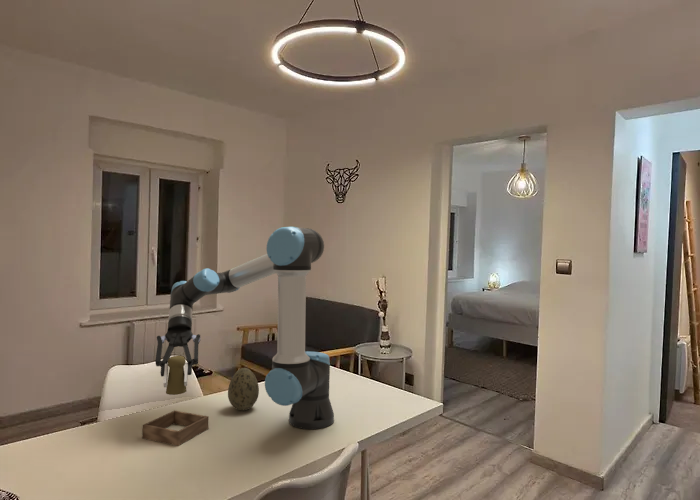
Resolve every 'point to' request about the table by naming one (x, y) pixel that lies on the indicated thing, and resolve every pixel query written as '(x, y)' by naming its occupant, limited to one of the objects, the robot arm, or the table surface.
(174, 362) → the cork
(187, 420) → the walnut box
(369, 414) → the table surface
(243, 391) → the decorative egg
